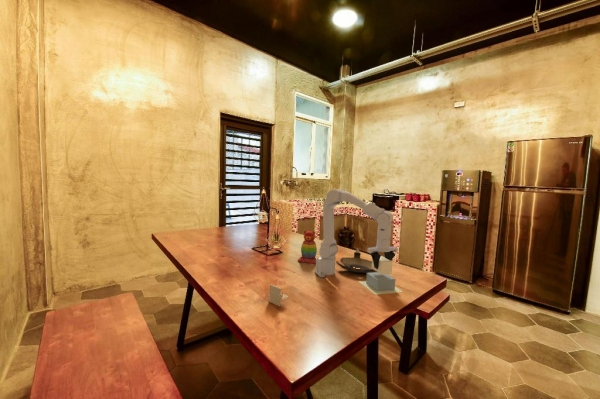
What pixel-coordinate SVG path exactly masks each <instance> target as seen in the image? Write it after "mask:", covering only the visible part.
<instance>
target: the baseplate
mask: <svg viewBox="0 0 600 399" xmlns="http://www.w3.org/2000/svg"><path fill="white" fill-rule="evenodd" d="M359 283H360V284H361V285H362V286H364V287H365V288H366V289H367V290H369V292H371V293H372V294H373V295H376V296H377V295H386V294H388V295H389V294H396V293H403V292H404V291H402V289H400V288H398V287H397V286H395V290H388V291H379V292H377V291H376V290H374V289H373V288H372V287H370V286H369V285H368V284H366V280H360V281H359Z"/></svg>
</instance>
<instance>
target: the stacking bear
mask: <svg viewBox="0 0 600 399" xmlns="http://www.w3.org/2000/svg"><path fill="white" fill-rule="evenodd" d="M315 238H316V232H315V231H311V230H304V231H303V241H302V244H301V247H300V252H301V253H300V254H301V256H300V257H299V258H298V259H297V262H298V263H305V264H311V265H316V259H317V257H316V256H317V253H318V248H317V243H316V241H315Z"/></svg>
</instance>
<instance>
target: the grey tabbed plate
mask: <svg viewBox="0 0 600 399" xmlns="http://www.w3.org/2000/svg"><path fill="white" fill-rule="evenodd" d="M268 294H269V296H268V297H269V298H268V302H269V303H271V304H274V305H276V306H278V307H281V300H285V299H287V298H289V296H288V295H287V294H285V293H283V292H282V289H281V287H279V285H277V286H275V285H274V284H269V293H268Z"/></svg>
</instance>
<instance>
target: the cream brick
mask: <svg viewBox="0 0 600 399" xmlns="http://www.w3.org/2000/svg"><path fill="white" fill-rule="evenodd" d="M371 261H372V269H374V270H375V271H374V272H378V273H380V274H382V275H383V274H388V275H392V273H393V262H394V261H393V260H392V261H391V260H389V259H387V258H385V256H383V255H381V257H380V260H379V267H378V269H376V268H374V263H373V259H372V258H371Z"/></svg>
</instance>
